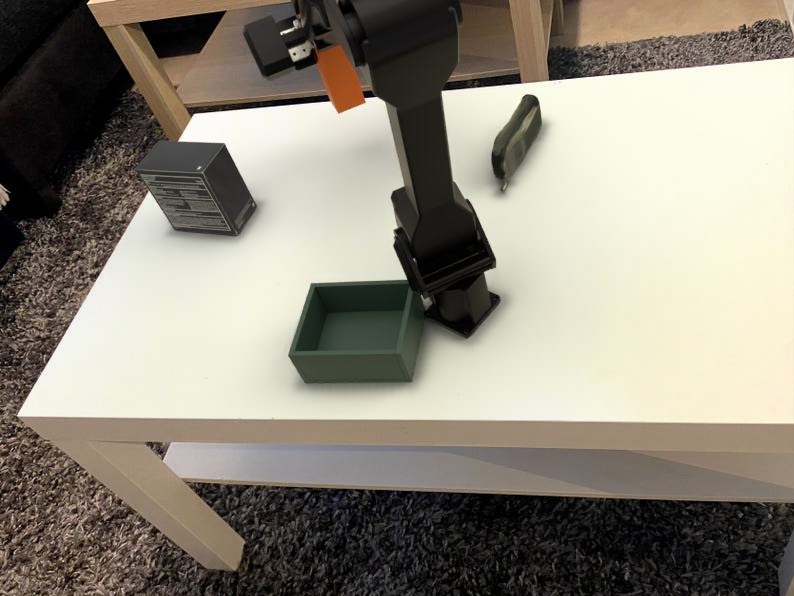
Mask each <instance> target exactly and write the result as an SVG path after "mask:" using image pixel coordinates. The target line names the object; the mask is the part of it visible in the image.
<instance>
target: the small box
mask: <svg viewBox="0 0 794 596" xmlns="http://www.w3.org/2000/svg"><path fill="white" fill-rule="evenodd" d="M134 171H135V173H136V175H138V176H139V178H140V179H141V181H142V182H143V184H144V185H145V187H146V188H147V190H148V191H149V193H150V195H151V196H152V197H153V199H154V200H155V202H156V204H157V205H158V206H159V208H160V210H161V212H162V213H163V215H164V216H165V217H166V219H167V221H168V222H169V224H170V226H171V227H172V229H173V230H174V231H176V232H177V231H178V232H191V233H203V234H216V235H227V236H238V235H239V234H240V233H241V231H242V229H243V228H244V226H245V224H246V223H247V221H249V219H250V217H251V216H252V214H253V213H254V211H255V210H256V208H257V206H258V204H257V203H256V201H255V199H254V197H253V195H252V193H251V191H250V189H249V188H248V185H247V184H246V181H245V180H244V178H243V176H242V174H241V172H240V170H239V168H238V166H237V164H236V162H235V161H234V158H233V157H232V155H231V153H230V151H229V149H228V148H227V145H226V143H225V142H206V141H201V142H200V141H178V140H177V141H175V140H158V141H157V142H156V143H155V144H154V145H153V147H152V148H151V149H150V150H149V151H148V153H146V154H145V156H144V157H143V158H142V159H141V160H140V161H139V163H138V164H137V165H136V167H134Z"/></svg>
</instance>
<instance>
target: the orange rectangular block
mask: <svg viewBox="0 0 794 596" xmlns="http://www.w3.org/2000/svg"><path fill="white" fill-rule="evenodd" d="M297 16H298V19H299V18H301V16H300V14H299V15H297ZM308 41H309V40H308ZM312 49H313V51H314V54H315V56H316V58H317V60H318V62H317V64H316V67H317V69H318V71H319V74H320V78H321V80H322V82H323V85H324V88H325V91H326V93H327V96H328V99H329V101H330V103H331V104H332V106H333V108H334V109H335V111H336V112H337V114H339V115H340V114H341V113H345V112H347V111H350V110H351V109H354V108H356V107H360V106H362V105H364V104H366V103H367V102H366V101H367V100H366V98H365V96H364V93H363V89H362V86H361V83H360V80H359V77H358V74H357V71H356V69H354V68H353V67H352V65H351V64H350V62H349V60H348V58H347V56H346V54H345V52H344V51H343V49H342V47H341V45H338V46H336V47H333V48H331V49H328V50H326V51H323V52H321V53H318V52H317V50H316V47H315V48H312Z"/></svg>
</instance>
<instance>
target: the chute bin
mask: <svg viewBox="0 0 794 596" xmlns="http://www.w3.org/2000/svg"><path fill="white" fill-rule="evenodd" d="M302 307H303V308H302V310H301V313H300V317H299V319H298V323H297V326H296V329H295V332H294V335H293V339H292V341H291V345H290V348H289V351H288V354H287V356H288V358H289V361H290V362H291V363H292V365H293V367H294V368H295V370H296V372H297V373H298V375H299V376H300V378H301V380H302V381H303V383H304V384H333V383H335V384H337V383H340V384H341V383H345V384H346V383H412V382H413V378H414V373H415V368H416V362H417V358H418V352H419V347H420V343H421V337H422V331H423V326H424V320H425V315H424V312H425V310H426V309H427V308H426V305H425V302H424V298H423V296H422V295H420V293H418V292H415V291H412V290H411V288H410V286H409V283H408V281H407V279H387V280H386V279H385V280H384V279H383V280H358V281H357V280H355V281H333V282H331V281H330V282H311V283H310V284H309V289H308V292H307V295H306V297H305V301H304V305H303V306H302Z"/></svg>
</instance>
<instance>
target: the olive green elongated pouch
mask: <svg viewBox="0 0 794 596" xmlns="http://www.w3.org/2000/svg"><path fill="white" fill-rule="evenodd" d="M542 126H543V119H542V109H541V104H540V101H539V97H538V96H536V95H535V94H532V93H531V94H529V93H526V94H524V95H523V96H522V97H521V100H520V102H519V104H518V105H517V107H516V109H515V110H514V112H512V115H511V116H510V119H509V120H508V121H507V123H505V124H504V126H503V127H502V129H500V131H498V133H497V135H496V137H495V138H494V141H493V147H492V149H491V153H490V162H491V167H492V172H493V175H494V177H495V179H499V180H501V182H502V183H501V185H500V187H499V190H500V192H503V193H504V192H505V191H506V189H507V187H508V184H509V182H510V180H511V178H512V176H513V175H514V174H515V172H516V170H517V169H518V167H519V166H520V165H521V163H522V162H523V160H524V159H525V157H526V155H527V154H528V151H529V149H530V148H531V147H532V145H533V143H534V141H535V140H536V138H537V136H538V134H539V133H540V131H541V128H542Z"/></svg>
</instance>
